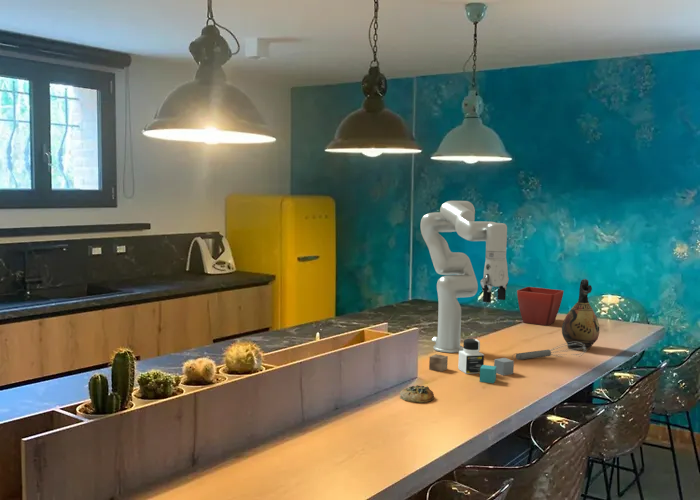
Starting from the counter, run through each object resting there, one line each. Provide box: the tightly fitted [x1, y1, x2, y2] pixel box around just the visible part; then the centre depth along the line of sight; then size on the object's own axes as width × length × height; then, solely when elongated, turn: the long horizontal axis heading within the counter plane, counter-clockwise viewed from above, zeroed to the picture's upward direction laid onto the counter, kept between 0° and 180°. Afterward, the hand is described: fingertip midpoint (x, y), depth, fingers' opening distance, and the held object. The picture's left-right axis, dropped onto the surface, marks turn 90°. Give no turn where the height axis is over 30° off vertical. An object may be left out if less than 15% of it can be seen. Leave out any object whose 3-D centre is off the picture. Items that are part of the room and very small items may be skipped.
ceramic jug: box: [561, 278, 600, 352], centre depth 296 cm, size 17×15×30 cm
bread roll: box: [399, 384, 435, 404], centre depth 221 cm, size 11×11×5 cm
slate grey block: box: [493, 357, 515, 377], centre depth 254 cm, size 5×5×5 cm
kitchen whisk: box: [511, 342, 586, 361], centre depth 279 cm, size 6×34×6 cm, turn 107°
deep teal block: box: [479, 364, 497, 384], centre depth 243 cm, size 5×5×5 cm
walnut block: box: [428, 354, 449, 373], centre depth 257 cm, size 5×5×5 cm
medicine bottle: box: [457, 338, 485, 375], centre depth 255 cm, size 7×7×12 cm
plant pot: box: [516, 286, 565, 326], centre depth 352 cm, size 19×19×17 cm
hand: (494, 300), depth 259 cm, fingers open, 9 cm apart
